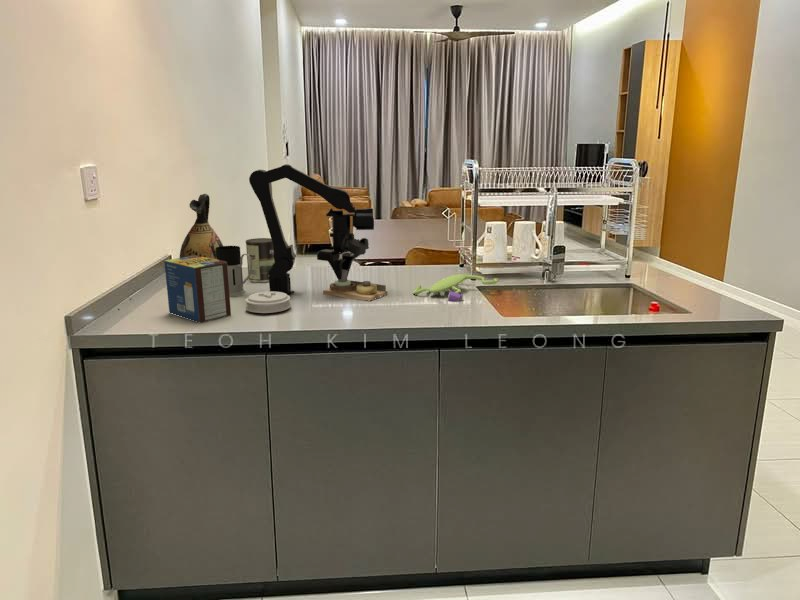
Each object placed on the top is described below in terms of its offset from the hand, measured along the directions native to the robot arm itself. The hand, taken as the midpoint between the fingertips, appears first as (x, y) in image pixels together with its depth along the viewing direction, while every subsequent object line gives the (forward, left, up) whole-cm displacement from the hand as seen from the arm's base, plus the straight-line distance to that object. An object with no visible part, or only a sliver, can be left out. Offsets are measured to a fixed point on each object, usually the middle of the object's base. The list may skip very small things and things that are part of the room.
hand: (342, 278), depth 196 cm
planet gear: (0, 0, -2) cm, 2 cm away
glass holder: (-20, +27, -5) cm, 34 cm away
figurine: (+20, -32, -5) cm, 38 cm away
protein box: (-42, +19, -5) cm, 46 cm away
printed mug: (+1, +36, -5) cm, 36 cm away
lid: (-28, +6, -5) cm, 29 cm away
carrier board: (0, -5, -5) cm, 7 cm away
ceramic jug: (-10, +53, -5) cm, 54 cm away
